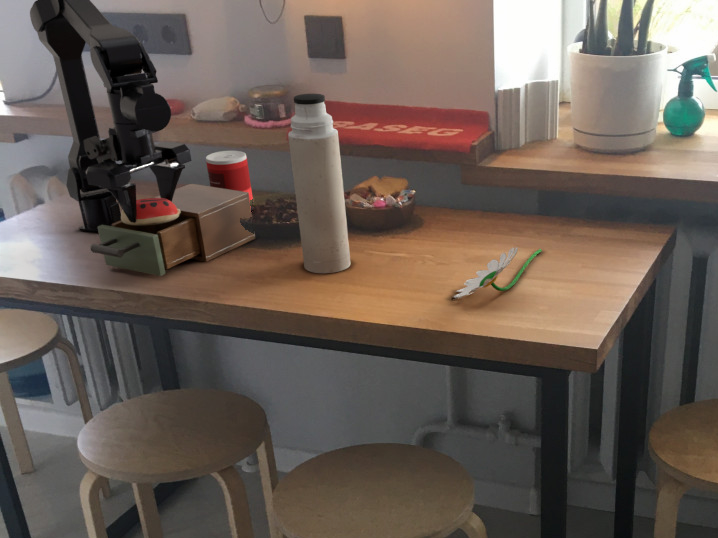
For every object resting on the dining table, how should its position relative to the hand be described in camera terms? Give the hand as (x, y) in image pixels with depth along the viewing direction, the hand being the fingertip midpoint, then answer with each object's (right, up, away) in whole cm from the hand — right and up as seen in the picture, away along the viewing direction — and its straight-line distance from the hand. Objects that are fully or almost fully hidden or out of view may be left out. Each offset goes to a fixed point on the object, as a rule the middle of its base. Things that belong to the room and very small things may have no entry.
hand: (150, 215), depth 173 cm
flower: (+62, -13, -5) cm, 63 cm away
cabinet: (+5, -2, +13) cm, 14 cm away
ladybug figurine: (0, -1, +1) cm, 1 cm away
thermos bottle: (+30, -8, +3) cm, 31 cm away
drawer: (-1, -8, +2) cm, 8 cm away
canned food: (+7, +8, +29) cm, 31 cm away
